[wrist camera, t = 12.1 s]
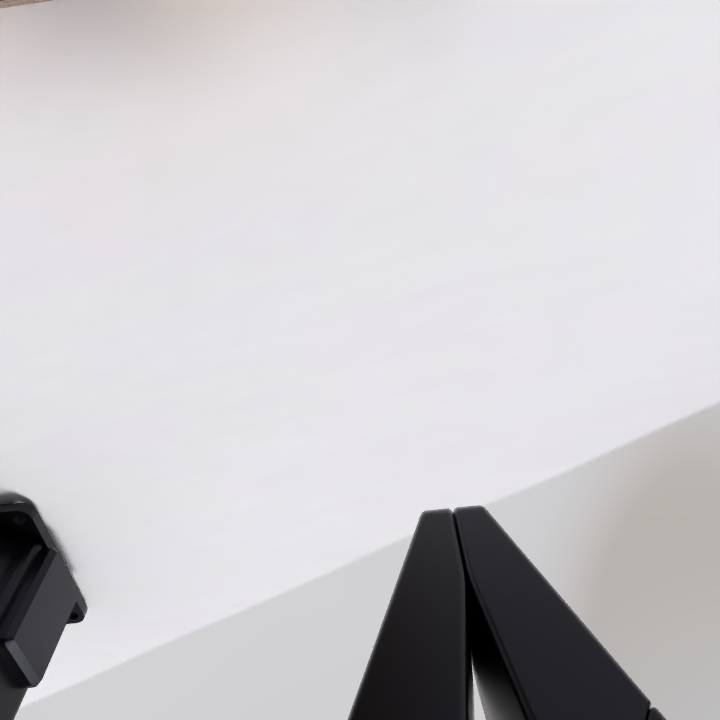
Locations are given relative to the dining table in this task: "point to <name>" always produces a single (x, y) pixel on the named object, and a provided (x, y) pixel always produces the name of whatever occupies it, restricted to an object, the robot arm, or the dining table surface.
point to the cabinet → (17, 2)
